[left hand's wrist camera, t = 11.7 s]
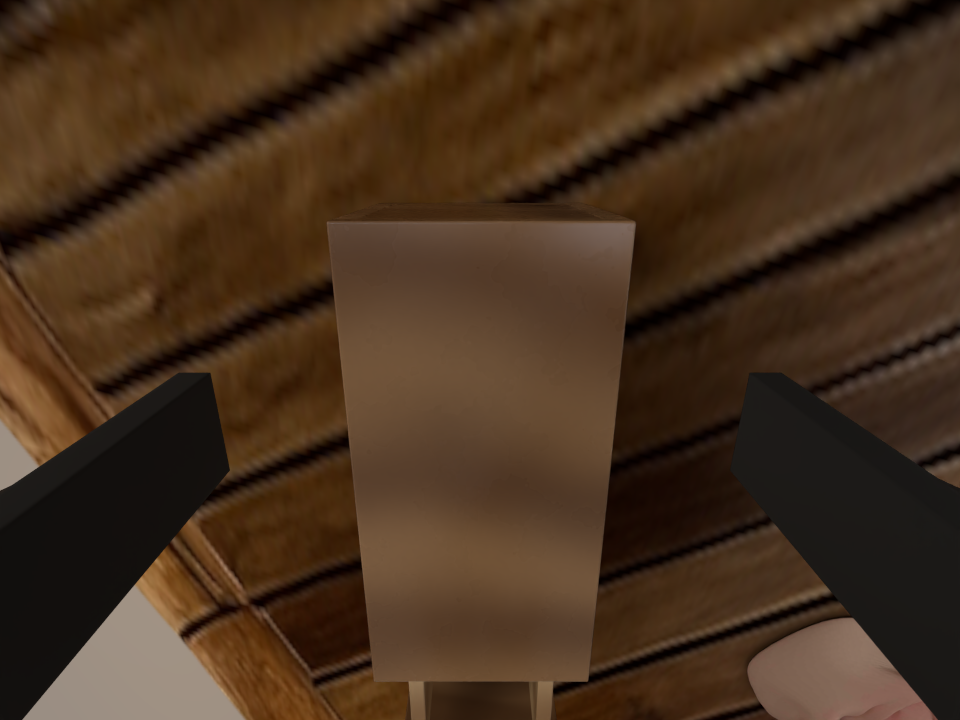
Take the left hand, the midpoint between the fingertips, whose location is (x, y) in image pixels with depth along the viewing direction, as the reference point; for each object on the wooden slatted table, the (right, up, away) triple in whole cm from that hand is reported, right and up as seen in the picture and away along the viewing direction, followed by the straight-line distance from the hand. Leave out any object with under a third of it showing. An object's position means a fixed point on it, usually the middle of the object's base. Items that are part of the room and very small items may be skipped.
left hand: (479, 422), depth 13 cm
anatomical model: (+26, -22, +25) cm, 42 cm away
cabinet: (0, -1, +17) cm, 17 cm away
